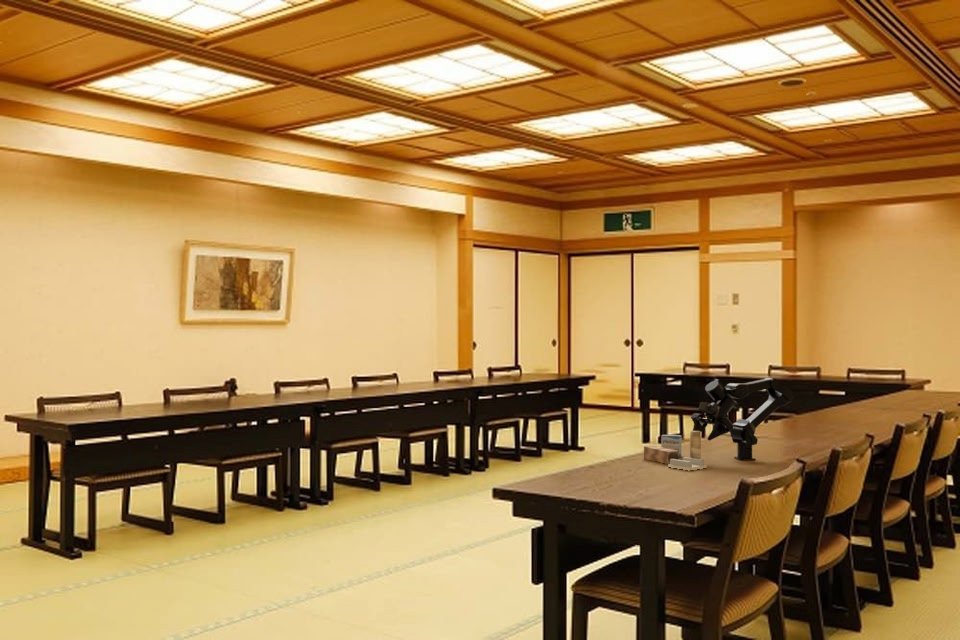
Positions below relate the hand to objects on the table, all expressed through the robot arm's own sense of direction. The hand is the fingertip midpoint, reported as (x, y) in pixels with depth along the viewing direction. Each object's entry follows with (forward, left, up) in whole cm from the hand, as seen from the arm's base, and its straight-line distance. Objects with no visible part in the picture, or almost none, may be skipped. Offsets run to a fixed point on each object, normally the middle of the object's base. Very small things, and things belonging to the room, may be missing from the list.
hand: (700, 438), depth 347 cm
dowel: (+1, -2, -10) cm, 10 cm away
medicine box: (-19, -4, -10) cm, 22 cm away
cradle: (+10, -9, -10) cm, 17 cm away
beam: (-7, -13, -10) cm, 18 cm away
